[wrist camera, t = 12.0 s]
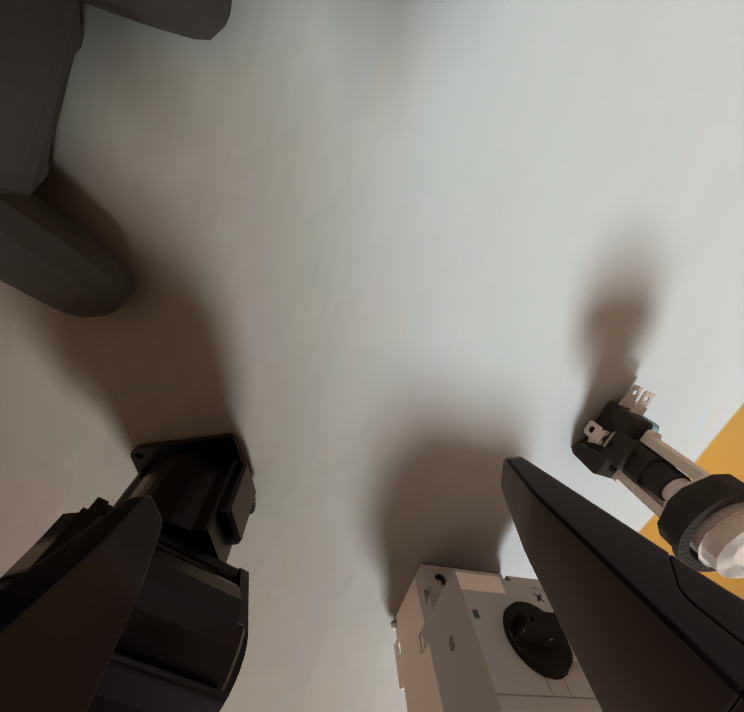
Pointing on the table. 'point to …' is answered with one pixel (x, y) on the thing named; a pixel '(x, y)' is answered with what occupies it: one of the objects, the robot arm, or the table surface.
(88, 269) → the gaming controller
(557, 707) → the circuit breaker
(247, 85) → the table surface
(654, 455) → the push button
